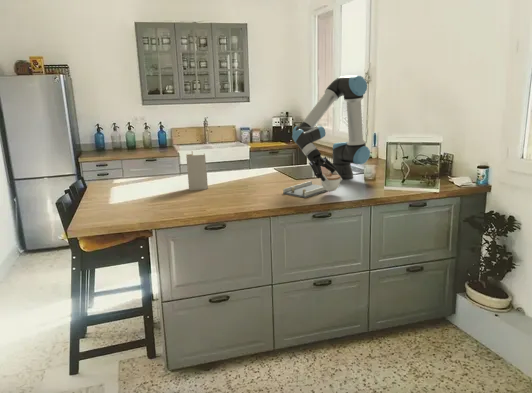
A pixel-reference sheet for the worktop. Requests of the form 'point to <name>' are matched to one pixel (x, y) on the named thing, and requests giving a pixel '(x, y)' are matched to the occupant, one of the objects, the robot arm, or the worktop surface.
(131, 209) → the worktop surface
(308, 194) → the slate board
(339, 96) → the robot arm
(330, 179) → the lidded jar
